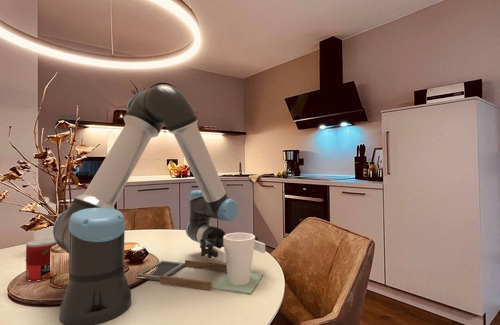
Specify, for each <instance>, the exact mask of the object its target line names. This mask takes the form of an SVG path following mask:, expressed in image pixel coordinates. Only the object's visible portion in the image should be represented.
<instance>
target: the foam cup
mask: <svg viewBox="0 0 500 325" xmlns="http://www.w3.org/2000/svg"><path fill="white" fill-rule="evenodd" d="M225 234H226V233H225ZM255 237H256V236H255V235H254V234H253V233H247V232H232V233H227V234H226V235H224V237H223V245H224V247H223V249H224V250H223V251H225V252H226V262H225V264H226V266H227V273H226V274H228V281H229V283H231V284H233V285H244V284H247V283H248V282H250V274H251V273H252V266H253V257H254V251H255V250H254V246H255Z"/></svg>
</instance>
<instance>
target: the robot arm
mask: <svg viewBox="0 0 500 325" xmlns="http://www.w3.org/2000/svg"><path fill="white" fill-rule="evenodd" d="M123 121H124V124H125V125H124V126H123V128H122V130H121V131H120V132H119V135H118V136H117V138H116V140H115V141H114V143H113V145H112V146H111V148H110V150H109V151H108V153H107V155H106V156H105V158H104V160H103V161H102V163H101V165H100V166H99V168H98V170H97V171H96V173H95V174H94V176H93V179H92V180H91V181H90V183H89V185H88V187H86V190H85V191H84V193H82V194H79V195H77V196H75V197H74V198H73V200H72V201H71V203H70V205H69V206H68V207H67V209H66V210H64V211H63V212H61V213H60V215H57V219H56V221H55V223H54V226H53V236H54V239H55V241H56V243H57V244H58V247H60V249H62V250H63V251H65V252H67V253H68V283H67V286H66V290H65V292H64V297H63V300H62V301H61V302H60V305H59V313H58V315H59V321H60V322H61V323H62V324H65V325H96V324H100V323H104V322H106V321H109V320H112V319H114V318H116V317H118V316H120V315H121V314H123V313H125V312H126V311H127V310H128V309H129V308H130V307H131V304H132V303H133V302H132V298H133V297H132V290H131V288H130V286H129V283H128V280H127V277H126V274H125V236H126V235H125V229H126V223H125V216H124V214H123V213H122V212H121V211H120V210H118V209H116V208H115V205H116V203H117V200H118V199H119V197H120V195H121V194H122V192H123V190H124V188H125V186H126V185H127V183H128V181H129V179H130V177H131V175H132V174H133V172H134V170H135V168H136V167H137V165H138V163H139V161H140V159H141V157H142V155H143V154H144V152H145V150H146V148H147V146H148V144H149V142H150V141H151V139H153V138H156V137H157V138H158V136H159V134H160V133H161V131H162V129H163V127H164V126H165V127H166V128H167V130H168V133H170V134H173V135H174V138H175V140H176V142H177V145H178V147H179V149H180V150H181V152H182V154H183V157H184V159H185V161H186V163H187V165H188V167H189V169H190V171H191V173H192V175H193V176H192V177H193V178H194V180H195V182H196V184H197V186H198V188H199V189H194V190H192V191H190V193H189V200H188V202H189V222H188V223H187V225H186V227H185V234H186V236H187V237H188V238H189V239H191V240H192V241H193V242H196V243H198V244H199V248H200V249H201V250H200V252H201V254H200V256H201V257H204V258H205V257H206V256H207V259H213V258H215V259H217V260H219V261H221V262H222V263H226V252H225V250H223V249H221V248H224V245H223V237H224V235H226V233H225V231H224V230H223V229H222V228H220V227H218V226H217V227H216V226H215V225H212V224H210V222H211V221H210V220H211V219H214V220H217V221H221V222H231V221H234V220H235V219H236V218H237V216H238V214H239V204H238V202H237V201H236V200H235V199H232V198H229V196H228V194H227V192H226V189H225V188H224V184H223V182H222V180H221V178H220V176H219V173H218V171H217V169H216V167H215V164H214V161H213V160H212V157H211V155H210V153H209V149H208V147H207V146H206V143H205V142H204V139H203V137H202V133H201V131H200V130H199V127H198V125H197V124H198V121H199V119H198V118H197V115H196V112H195V110H194V108H193V106H192V104H191V103H190V101H189V100H188V98H187V97H186V95H184V94H183V93H182V91H181V90H179V89H178V88H177V87H174V86H173V85H169V84H165V83H163V84H162V83H161V84H157V85H154V86H151V87H150V88H148V89H145V90H142V91H140V92H137V93H136V94H134V95H133V96H132V97H131V98H130V99H129V101H128V102H127V105H126V113H125V115H124V116H123ZM253 251H257V252H259V253H262V254H266V243H264V242H261V241H259V237H257V236H255V246H254V250H253Z"/></svg>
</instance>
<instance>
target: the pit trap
mask: <svg viewBox="0 0 500 325" xmlns="http://www.w3.org/2000/svg"><path fill="white" fill-rule="evenodd" d="M157 266H158V268H157V270H156V271H155V272H154V273H153V274H152V275H148V274H145V273H147V272H149V271H150V270H151V269H153V268H155V267H157ZM183 268H186V267H185V262H178V261H170V260H161V261H159V262H157V263H155V264H153V265H151V266H150V267H148V268H146V269H145V270H143V271H140V272H139V273H137V274H136V278H137V277H146V281H154V282H158V283H160V276H162V275H164V276H172V277H173V275H175V274H176V273H177V272H179V271H181V270H182V269H183Z"/></svg>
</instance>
